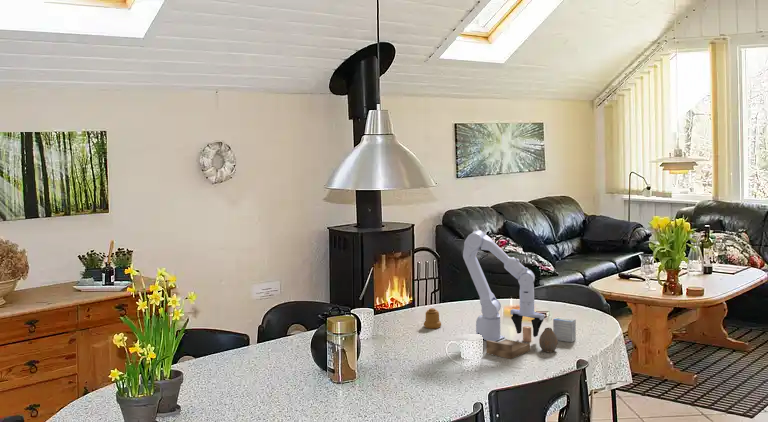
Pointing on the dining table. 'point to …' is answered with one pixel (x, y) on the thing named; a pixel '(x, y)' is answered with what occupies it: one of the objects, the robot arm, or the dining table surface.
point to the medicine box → (565, 329)
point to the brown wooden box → (506, 348)
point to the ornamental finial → (432, 319)
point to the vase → (548, 340)
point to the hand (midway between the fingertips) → (527, 334)
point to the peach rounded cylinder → (527, 334)
